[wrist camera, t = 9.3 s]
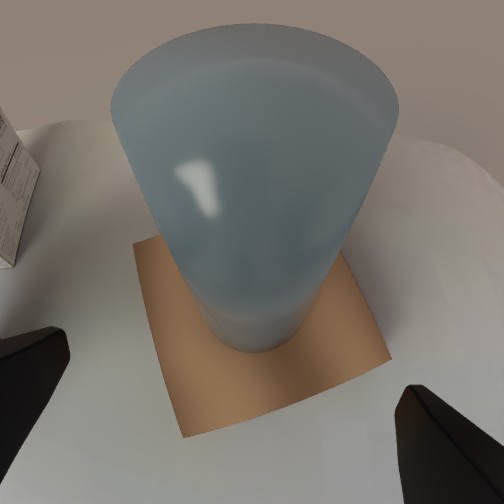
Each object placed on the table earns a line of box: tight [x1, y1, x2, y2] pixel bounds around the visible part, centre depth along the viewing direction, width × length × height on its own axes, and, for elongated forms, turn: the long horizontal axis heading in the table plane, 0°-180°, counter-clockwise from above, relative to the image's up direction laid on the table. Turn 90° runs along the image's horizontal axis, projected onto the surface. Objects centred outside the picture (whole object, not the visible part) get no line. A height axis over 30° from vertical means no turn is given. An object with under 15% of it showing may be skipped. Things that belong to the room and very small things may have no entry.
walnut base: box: [133, 235, 392, 438], centre depth 18 cm, size 11×11×3 cm
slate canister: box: [111, 24, 399, 353], centre depth 11 cm, size 5×5×12 cm
